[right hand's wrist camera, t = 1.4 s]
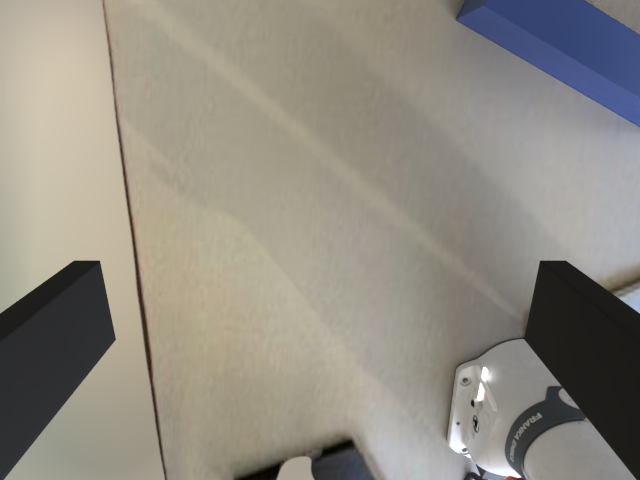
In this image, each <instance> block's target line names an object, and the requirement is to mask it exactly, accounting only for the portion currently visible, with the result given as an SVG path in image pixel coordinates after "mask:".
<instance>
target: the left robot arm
mask: <svg viewBox="0 0 640 480" xmlns="http://www.w3.org/2000/svg"><path fill="white" fill-rule="evenodd" d="M464 378H466V379H465V380H463V379H464ZM447 442H448V444H449V446H450V447H451V448H452V449H453V450H454V451H456V452H457V453H459V454H461V455H463V456H466V457H469V458H472V459H473V461H474V462H475V463H476V466H477V468H478V471H479V473H480V475H481V476H478V475H477V474H476V473H474V472H471V473H469V474H468V475H467V477H466V478H465V480H472V479H475V480H636V479H635V477H634V476H633V475H632V474H631V472H630V471H629V470H628V469H627V467H626V466H625V465H624V464H623V462H622V461H621V460H620V459H619V457H618V456H617V455H616V454H615V452H614V451H613V450H612V449H611V447H610V446H609V445H608V444H607V442H606V441H605V440H604V439H603V437H602V436H601V435H600V434H599V432H598V431H597V430H596V429H595V427H594V426H593V425H592V424H591V422H590V421H589V420H588V419H587V417H586V416H585V415H584V414H583V412H582V411H581V410H580V409H579V407H578V406H577V405H576V404H575V402H574V401H573V400H572V399H571V397H570V396H569V395H568V394H567V392H566V391H565V390H564V389H563V387H562V386H561V385H560V384H559V382H558V381H557V380H556V379H555V377H554V376H553V375H552V374H551V372H550V371H549V370H548V369H547V367H546V366H545V365H544V364H543V362H542V361H541V360H540V359H539V357H538V356H537V355H536V354H535V352H534V351H533V350H532V349H531V347H530V346H529V345H528V344H527V342H526V341H525V340H524V339H516V340H511V341H508V342H504V343H502V344H499V345H497V346H495V347H494V348H492V349H490V350H489V351H487V352H486V353H485V354H483V355H482V356H481V357H479V358H477V359H475V360H472V361H469V362H466V363H463V364H461V365H460V366H458V368H457V369H456V374H455V382H454V389H453V397H452V404H451V412H450V419H449V427H448V435H447Z"/></svg>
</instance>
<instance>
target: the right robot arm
mask: <svg viewBox="0 0 640 480" xmlns="http://www.w3.org/2000/svg"><path fill="white" fill-rule="evenodd" d="M115 340H116V338H115V333H114V329H113V323H112V319H111V314H110V309H109V304H108V299H107V294H106V289H105V284H104V279H103V274H102V269H101V264H100V261H73V262H72V263H70V264H69V265H67V266H66V267H65V268H63V269H62V270H60V271H59V272H58V273H56V274H55V275H54V276H52V277H51V278H49V279H48V280H47V281H45V282H44V283H42V284H41V285H40V286H38V287H37V288H35V289H34V290H33V291H31V292H30V293H28V294H27V295H26V296H24V297H23V298H21V299H20V300H19V301H17V302H16V303H15V304H13V305H12V306H10V307H9V308H8V309H6V310H5V311H3V312H2V313H1V314H0V480H4V479H5V477H6V476H7V475H8V474H9V472H10V471H11V470H12V468H13V467H14V466H15V465H16V464H17V462H18V461H19V460H20V459H21V457H22V456H23V455H24V453H25V452H26V451H27V450H28V449H29V447H30V446H31V445H32V444H33V442H34V441H35V440H36V439H37V437H38V436H39V435H40V434H41V432H42V431H43V430H44V429H45V427H46V426H47V425H48V424H49V422H50V421H51V420H52V419H53V417H54V416H55V415H56V414H57V412H58V411H59V410H60V409H61V407H62V406H63V405H64V404H65V402H66V401H67V400H68V399H69V397H70V396H71V395H72V394H73V392H74V391H75V390H76V389H77V387H78V386H79V385H80V384H81V382H82V381H83V380H84V379H85V377H86V376H87V375H88V374H89V372H90V371H91V370H92V369H93V367H94V366H95V365H96V364H97V362H98V361H99V360H100V359H101V357H102V356H103V355H104V354H105V352H106V351H107V350H108V349H109V347H110V346H111V345H112V344H113V342H114V341H115ZM524 340H525V341H526V342H527V344H528V345H529V346H530V347H531V349H532V350H533V351H534V352H535V354H536V355H537V356H538V357H539V359H540V360H541V361H542V362H543V364H544V365H545V366H546V367H547V369H548V370H549V371H550V372H551V374H552V375H553V376H554V377H555V379H556V380H557V381H558V382H559V384H560V385H561V386H562V387H563V389H564V390H565V391H566V392H567V394H568V395H569V396H570V397H571V399H572V400H573V401H574V402H575V404H576V405H577V406H578V407H579V409H580V410H581V411H582V412H583V414H584V415H585V416H586V417H587V419H588V420H589V421H590V422H591V424H592V425H593V426H594V427H595V429H596V430H597V431H598V432H599V434H600V435H601V436H602V437H603V439H604V440H605V441H606V442H607V444H608V445H609V446H610V447H611V449H612V450H613V451H614V452H615V454H616V455H617V456H618V457H619V459H620V460H621V461H622V462H623V464H624V465H625V466H626V467H627V469H628V470H629V471H630V472H631V474H632V475H633V476H634V477H635V479H636V480H640V314H639V313H638V312H637V311H635V310H634V309H632V308H631V307H630V306H628V305H627V304H626V303H624V302H623V301H621V300H620V299H619V298H617V297H616V296H614V295H613V294H612V293H610V292H609V291H607V290H606V289H605V288H603V287H602V286H600V285H599V284H598V283H596V282H595V281H593V280H592V279H591V278H589V277H588V276H586V275H585V274H584V273H582V272H581V271H580V270H578V269H577V268H575V267H574V266H573V265H571V264H570V263H568V262H567V261H540V264H539V269H538V274H537V279H536V284H535V289H534V294H533V299H532V304H531V309H530V314H529V319H528V323H527V328H526V333H525V338H524Z"/></svg>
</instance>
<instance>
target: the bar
mask: <svg viewBox="0 0 640 480" xmlns="http://www.w3.org/2000/svg"><path fill="white" fill-rule="evenodd" d="M456 20H457V21H458V22H460V23H462V24H463V25H465V26H467V27H469V28H470V29H472V30H474V31H475V32H477V33H479V34H481V35H482V36H484V37H486V38H487V39H489V40H491V41H493V42H494V43H496V44H498V45H500V46H501V47H503V48H505V49H506V50H508V51H510V52H512V53H513V54H515V55H517V56H518V57H520V58H522V59H524V60H525V61H527V62H529V63H530V64H532V65H534V66H536V67H537V68H539V69H541V70H543V71H544V72H546V73H548V74H549V75H551V76H553V77H555V78H556V79H558V80H560V81H561V82H563V83H565V84H567V85H568V86H570V87H572V88H574V89H575V90H577V91H579V92H580V93H582V94H584V95H586V96H587V97H589V98H591V99H592V100H594V101H596V102H598V103H599V104H601V105H603V106H604V107H606V108H608V109H610V110H611V111H613V112H615V113H617V114H618V115H620V116H622V117H623V118H625V119H627V120H629V121H630V122H632V123H634V124H635V125H637V126H639V127H640V35H639V34H637V33H636V32H634V31H633V30H631V29H629V28H628V27H626V26H625V25H623V24H621V23H620V22H618V21H617V20H615V19H613V18H612V17H610V16H609V15H607V14H605V13H604V12H602V11H601V10H599V9H597V8H596V7H594V6H593V5H591V4H589V3H588V2H586V1H585V0H466V1H465V3H464V5H463V7H462V9H461V11H460V12H459V14H458V16H457V18H456Z"/></svg>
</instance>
